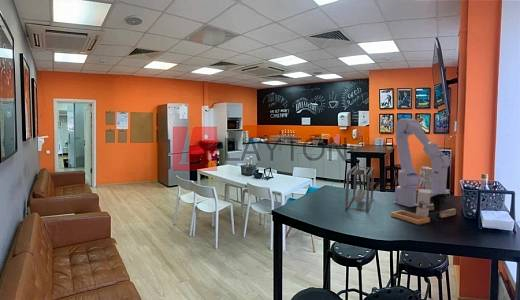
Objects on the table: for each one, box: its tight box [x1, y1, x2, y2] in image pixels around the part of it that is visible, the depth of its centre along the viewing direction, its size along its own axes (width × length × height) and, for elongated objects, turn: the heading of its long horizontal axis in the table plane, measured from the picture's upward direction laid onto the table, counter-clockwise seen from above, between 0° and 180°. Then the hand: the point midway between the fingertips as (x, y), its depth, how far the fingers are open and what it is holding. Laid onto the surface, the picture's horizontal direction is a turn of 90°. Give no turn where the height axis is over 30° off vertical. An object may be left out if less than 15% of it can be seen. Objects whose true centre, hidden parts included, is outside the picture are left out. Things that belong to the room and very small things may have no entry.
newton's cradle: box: [344, 165, 375, 212], centre depth 160 cm, size 30×10×18 cm, turn 156°
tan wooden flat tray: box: [390, 209, 431, 226], centre depth 136 cm, size 13×8×2 cm, turn 30°
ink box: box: [415, 188, 431, 217], centre depth 139 cm, size 9×5×12 cm, turn 150°
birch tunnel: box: [429, 203, 457, 218], centre depth 146 cm, size 11×11×2 cm
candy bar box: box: [418, 166, 433, 199], centre depth 180 cm, size 11×5×16 cm, turn 168°
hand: (437, 210), depth 146 cm, fingers closed
